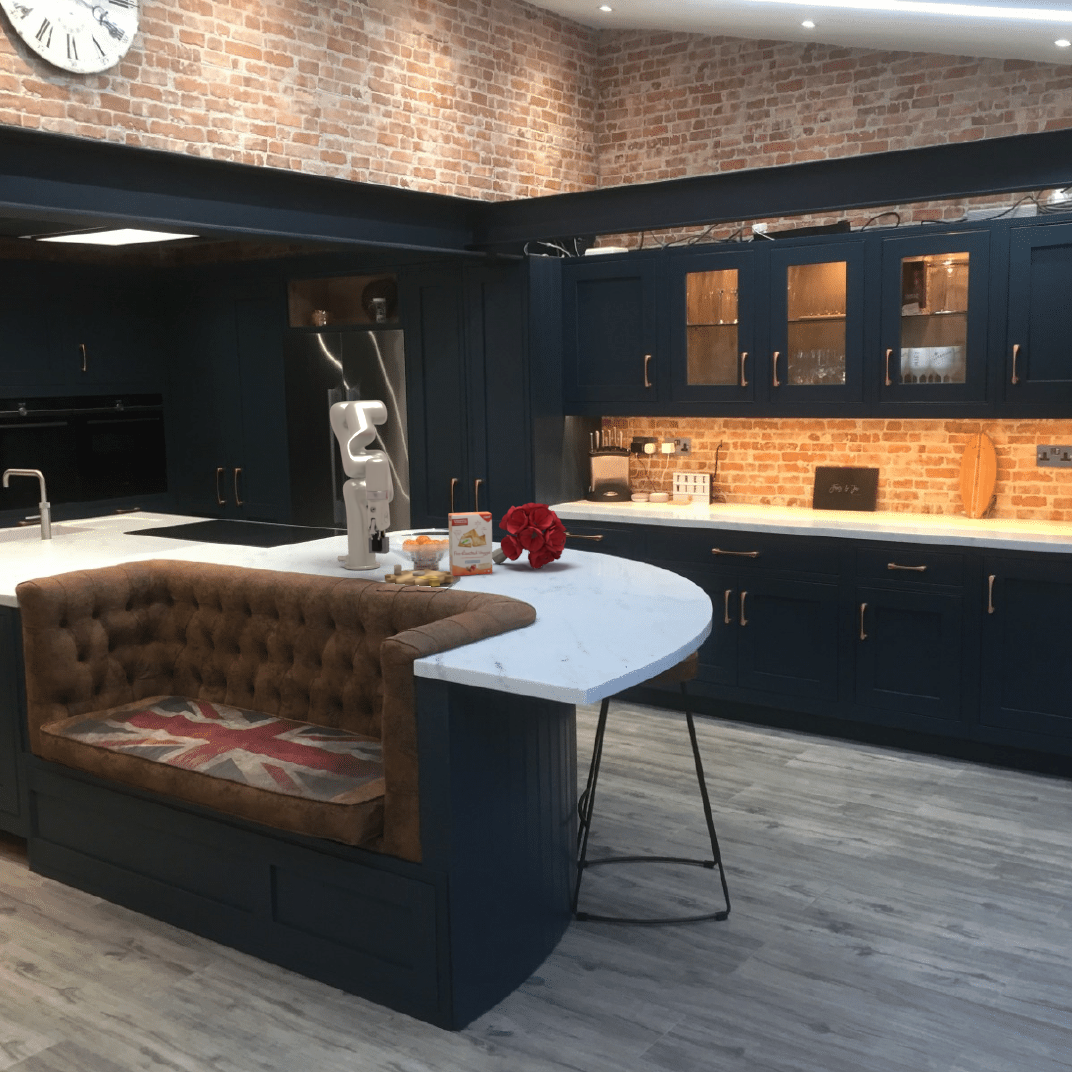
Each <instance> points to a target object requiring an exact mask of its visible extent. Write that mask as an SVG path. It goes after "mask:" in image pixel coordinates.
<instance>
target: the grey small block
mask: <svg viewBox="0 0 1072 1072" xmlns="http://www.w3.org/2000/svg"><path fill="white" fill-rule="evenodd" d="M380 540H381V543H382V551H381V552H373V551H372V539H371V537H370V538H368V541H369V553H375V554H381V555H382V554H383V555H387V554H389V552H390V536H385V537H382V536H380Z"/></svg>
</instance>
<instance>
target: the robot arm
mask: <svg viewBox="0 0 1072 1072" xmlns="http://www.w3.org/2000/svg"><path fill="white" fill-rule="evenodd" d="M329 419H330V424H331V428H332V430H333V431H332V432H333V433H334V434H335V437H336V439H337V441H338V444H339V448H340V449H339V450H340V455H341V460H342V462H341V463H342V467H343V471H344V473H345V475H346V476H347V477H348V478H349V477H350V479H348V480H346V481H345V482H344V484H343V487H342V492H343V493H342V494H343V498H344V499H343V500H344V504H345V512H346V525H347V551H348V552H347V553H348V554H346V555H337V562H339V563H341V562H345V564H344V566H343V567H344V569H346V570H352V571H353V570H354V571H363V570H365V571H366V570H374V569H378V568H380V567H381V563H380V562H379V561H376V560H377V558H376V555H377V554H376V553H369V541H368V538H370V537H371V539H372V551H373V552H381V551H382V543H381V540H380V536H382V537H387V535H386V529H388V528H389V527H390V526H391V516H390V515H391V514H390V505H389V504H390V503H391V502H392V501H393V499H394V486H393V480H392V479H393V478H392V473H391V469H390V462H389V458H388V456H387V454H386V453H385V452H384V451H383V450H382V449H381V450H380V449H366V447H367V446H369V445H370V444H371V443H373V441H374V440H375V439H376V436H377V434H376V429H375V427H374V425H379V426H380V425H383V424H385V423H386V422H387V420H388V409H387V407H386V405H385V403H384V402H383V401H382V400H379V399H378V400H377V399H374V400H373V399H372V400H365V399H364V400H354V401H353V400H351V401H349V400H348V401H340V402H339V401H338V402H336V403H333V405H332V406H331V407H330V410H329Z"/></svg>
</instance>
